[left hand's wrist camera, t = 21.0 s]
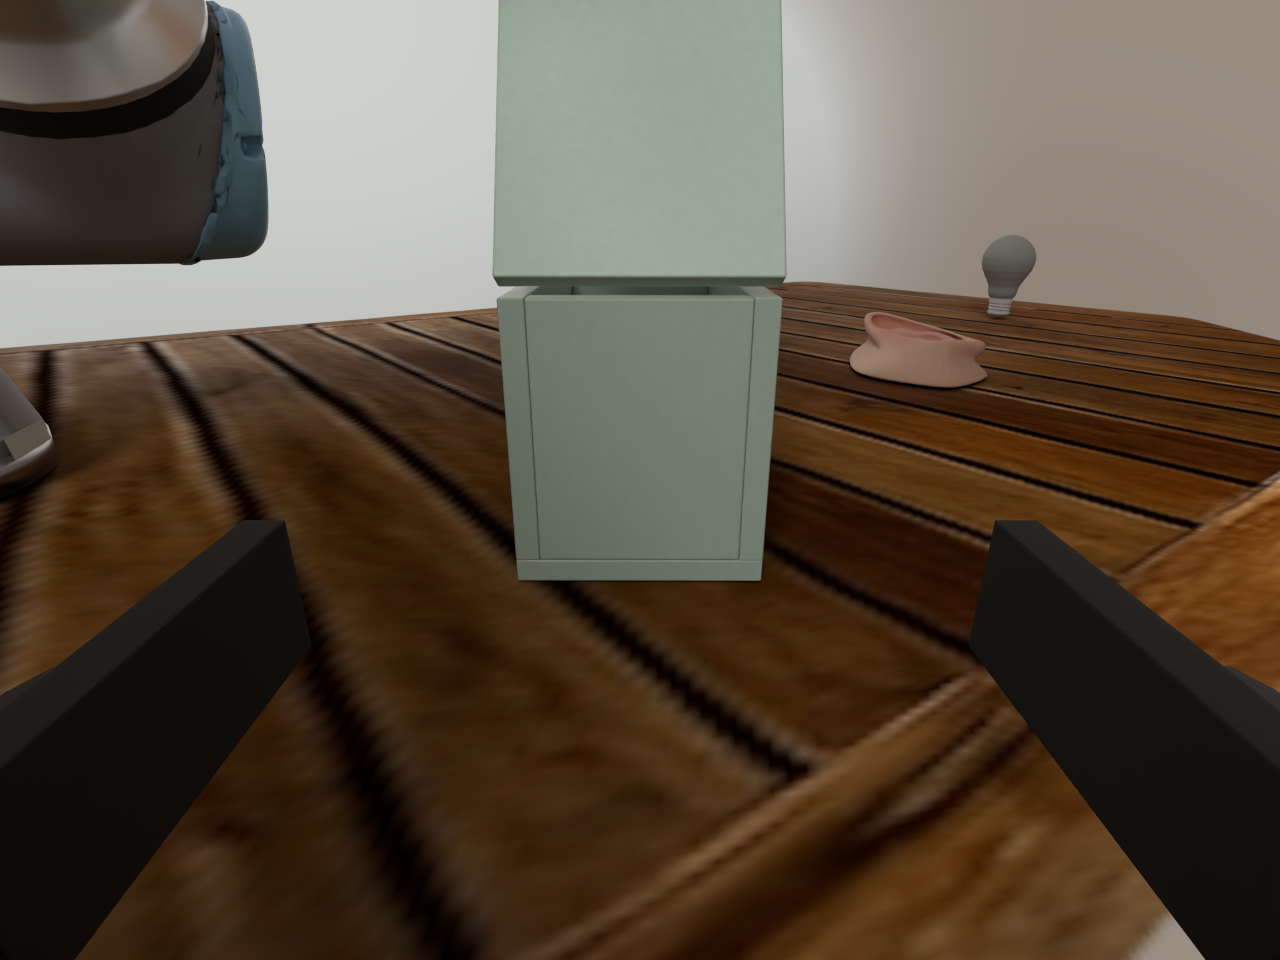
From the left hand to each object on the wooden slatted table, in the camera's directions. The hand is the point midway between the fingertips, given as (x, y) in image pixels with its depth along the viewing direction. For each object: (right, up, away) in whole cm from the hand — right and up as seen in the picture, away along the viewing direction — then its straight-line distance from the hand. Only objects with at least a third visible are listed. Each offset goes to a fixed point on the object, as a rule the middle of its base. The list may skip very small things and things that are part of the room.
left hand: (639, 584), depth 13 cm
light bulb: (+47, +23, +75) cm, 92 cm away
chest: (0, +1, +21) cm, 21 cm away
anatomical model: (+24, +11, +47) cm, 54 cm away
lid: (0, +17, +10) cm, 20 cm away
